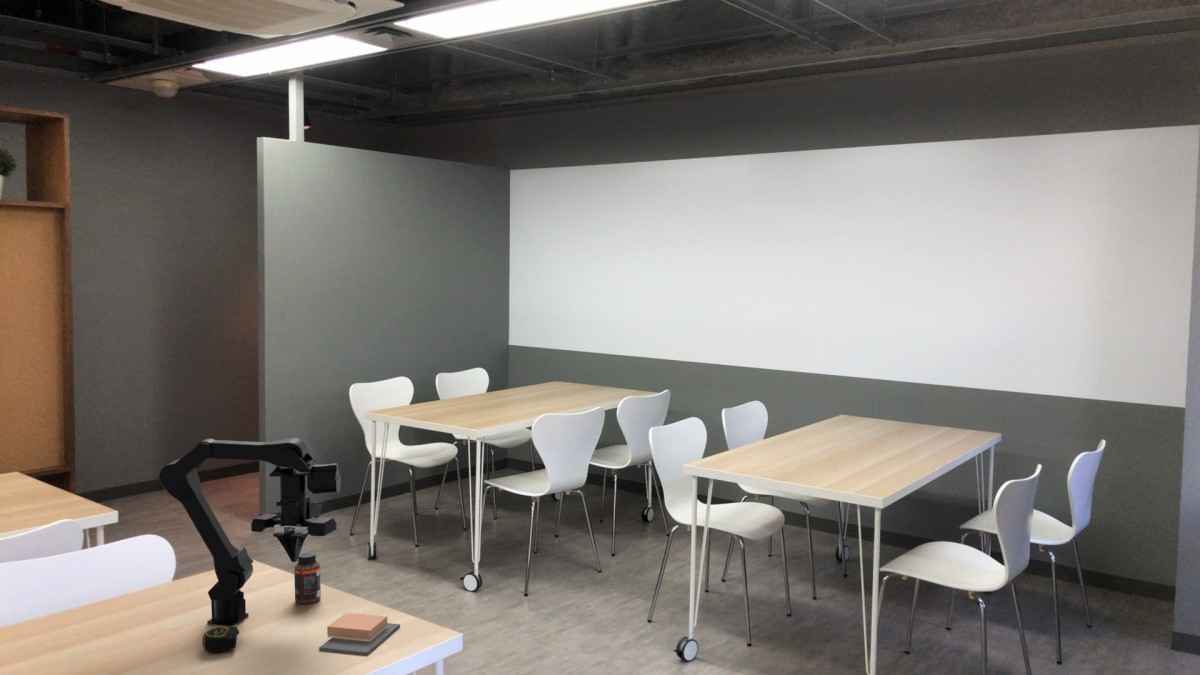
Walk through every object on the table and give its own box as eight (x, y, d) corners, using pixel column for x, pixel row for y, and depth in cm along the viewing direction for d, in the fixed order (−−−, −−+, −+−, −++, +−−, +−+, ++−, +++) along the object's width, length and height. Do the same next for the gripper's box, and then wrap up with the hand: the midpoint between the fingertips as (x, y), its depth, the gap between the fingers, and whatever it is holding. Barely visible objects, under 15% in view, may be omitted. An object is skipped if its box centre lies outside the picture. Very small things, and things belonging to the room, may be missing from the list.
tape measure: (236, 653, 176) (235, 635, 176) (200, 657, 174) (199, 639, 174) (239, 640, 183) (239, 623, 183) (204, 644, 181) (204, 627, 181)
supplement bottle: (326, 599, 206) (325, 553, 206) (304, 606, 202) (303, 560, 201) (310, 594, 210) (310, 549, 209) (289, 601, 205) (288, 555, 204)
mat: (319, 650, 177) (319, 647, 177) (355, 622, 192) (355, 620, 192) (367, 655, 175) (367, 652, 175) (399, 626, 190) (399, 624, 190)
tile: (327, 626, 182) (369, 630, 180) (346, 612, 190) (387, 616, 188) (327, 637, 182) (370, 641, 180) (346, 623, 190) (387, 626, 188)
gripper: (348, 488, 199) (349, 553, 200) (277, 484, 204) (278, 548, 204) (322, 500, 189) (324, 568, 190) (248, 495, 193) (250, 563, 194)
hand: (294, 561), depth 195 cm, fingers closed
